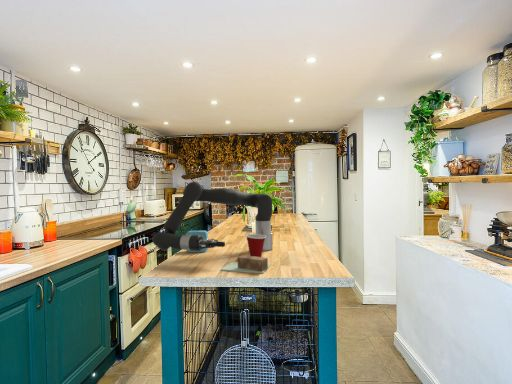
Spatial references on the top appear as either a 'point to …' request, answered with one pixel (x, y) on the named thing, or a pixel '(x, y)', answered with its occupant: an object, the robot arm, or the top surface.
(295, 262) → the top surface
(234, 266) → the mat
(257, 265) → the walnut block
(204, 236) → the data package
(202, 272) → the top surface
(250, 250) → the plastic cup
